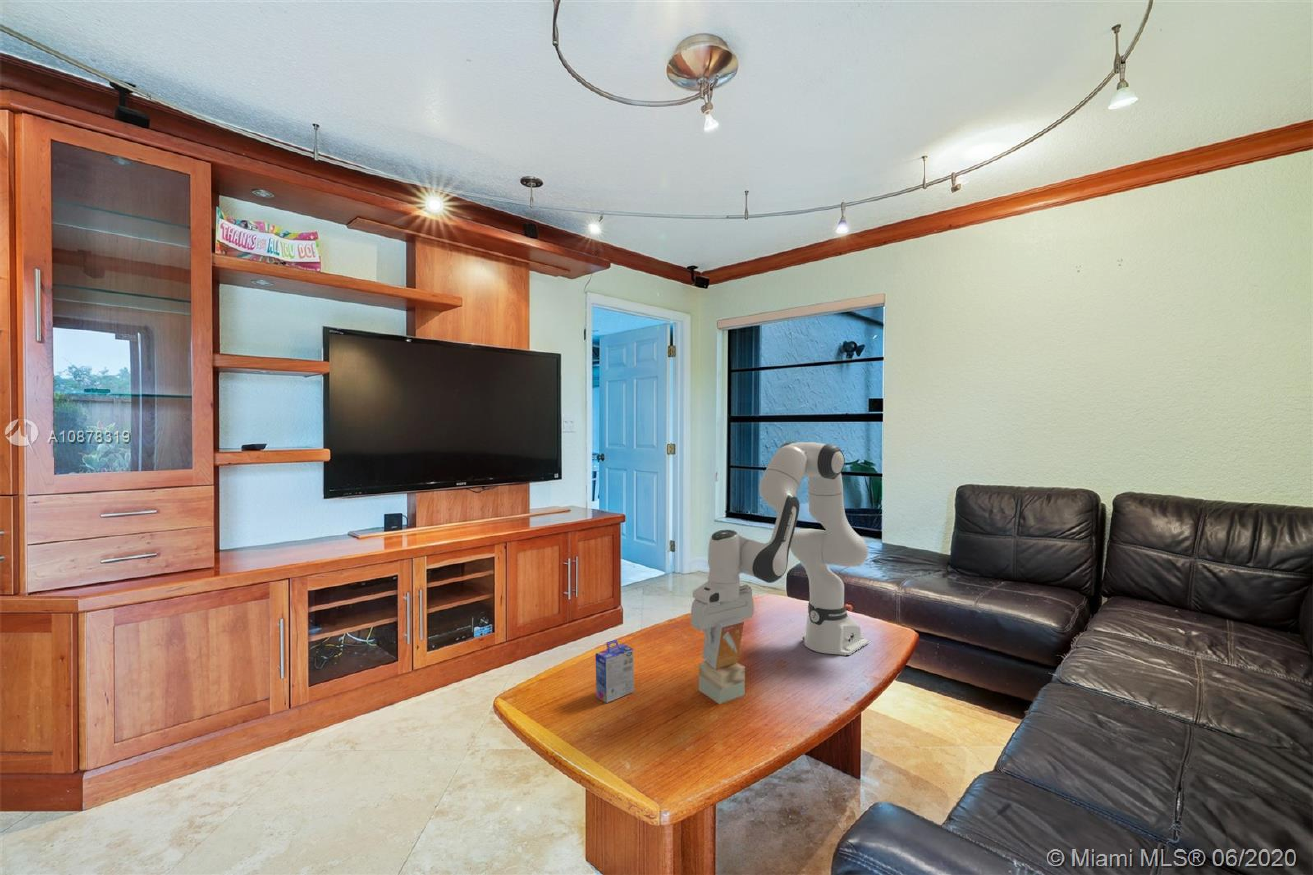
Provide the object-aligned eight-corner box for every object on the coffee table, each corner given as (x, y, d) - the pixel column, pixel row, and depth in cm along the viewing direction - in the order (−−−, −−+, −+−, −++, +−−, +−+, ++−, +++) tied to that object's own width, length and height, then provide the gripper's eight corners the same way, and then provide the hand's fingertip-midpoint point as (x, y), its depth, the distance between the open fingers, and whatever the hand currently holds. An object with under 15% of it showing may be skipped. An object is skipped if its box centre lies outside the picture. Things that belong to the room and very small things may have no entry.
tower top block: (722, 669, 159) (722, 655, 159) (744, 681, 152) (744, 666, 152) (698, 677, 154) (699, 663, 154) (720, 690, 147) (720, 675, 146)
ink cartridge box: (622, 684, 157) (622, 634, 157) (635, 692, 153) (635, 640, 152) (594, 696, 150) (594, 644, 150) (606, 704, 146) (606, 650, 146)
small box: (715, 670, 149) (722, 627, 147) (701, 657, 154) (707, 615, 152) (738, 663, 154) (744, 621, 151) (723, 650, 159) (729, 610, 156)
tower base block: (723, 682, 159) (723, 669, 159) (744, 696, 152) (744, 681, 151) (698, 691, 154) (698, 677, 154) (719, 705, 147) (719, 690, 147)
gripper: (744, 581, 160) (743, 627, 161) (687, 592, 149) (687, 642, 150) (759, 586, 155) (758, 634, 156) (701, 599, 144) (701, 650, 145)
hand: (723, 638), depth 153 cm, fingers closed on small box, 8 cm apart
